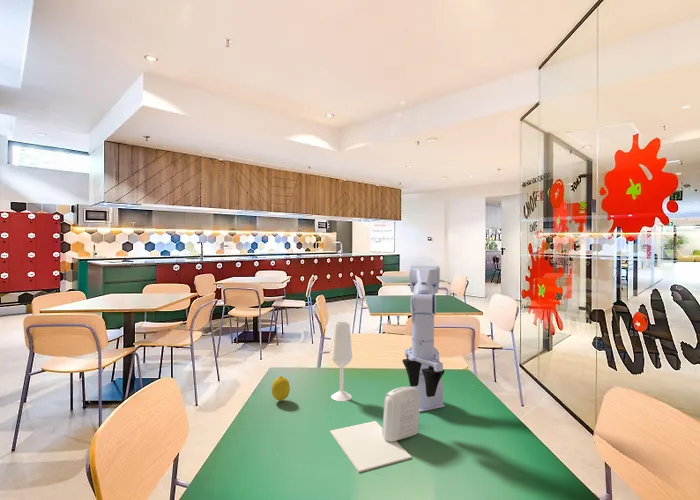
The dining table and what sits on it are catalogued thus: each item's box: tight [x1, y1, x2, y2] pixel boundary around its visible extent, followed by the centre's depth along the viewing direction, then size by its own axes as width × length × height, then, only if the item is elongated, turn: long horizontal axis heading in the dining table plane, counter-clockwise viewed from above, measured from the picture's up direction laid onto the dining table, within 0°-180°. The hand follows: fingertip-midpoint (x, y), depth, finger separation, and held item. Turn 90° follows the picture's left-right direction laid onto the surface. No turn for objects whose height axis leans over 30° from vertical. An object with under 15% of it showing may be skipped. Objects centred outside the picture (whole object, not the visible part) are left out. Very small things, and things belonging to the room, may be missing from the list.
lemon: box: [271, 375, 291, 402], centre depth 112 cm, size 6×6×8 cm
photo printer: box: [382, 386, 420, 442], centre depth 92 cm, size 10×4×12 cm, turn 124°
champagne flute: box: [330, 321, 353, 402], centre depth 116 cm, size 7×7×24 cm
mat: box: [329, 420, 412, 473], centre depth 88 cm, size 14×18×1 cm
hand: (422, 390), depth 94 cm, fingers open, 7 cm apart
